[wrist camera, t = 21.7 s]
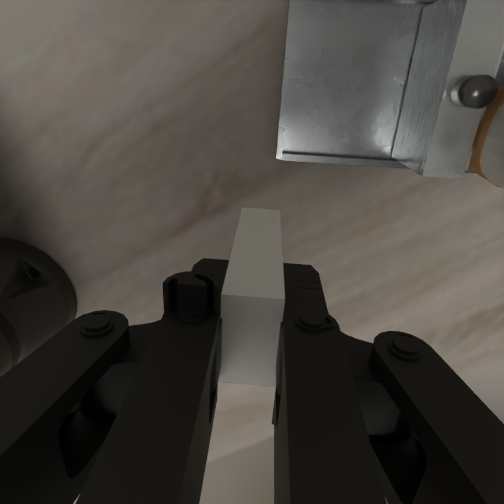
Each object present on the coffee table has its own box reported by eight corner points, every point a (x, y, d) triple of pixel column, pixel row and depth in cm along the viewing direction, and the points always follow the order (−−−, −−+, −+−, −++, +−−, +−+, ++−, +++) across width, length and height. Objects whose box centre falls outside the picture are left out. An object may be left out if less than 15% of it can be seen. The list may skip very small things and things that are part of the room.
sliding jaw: (391, 156, 35) (432, 182, 26) (423, 7, 30) (488, -24, 21) (429, 159, 35) (483, 186, 26) (467, 10, 30) (552, -21, 21)
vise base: (276, 156, 37) (277, 178, 29) (290, -10, 32) (296, -44, 23) (534, 173, 37) (614, 201, 28) (598, 8, 31) (724, -21, 22)
